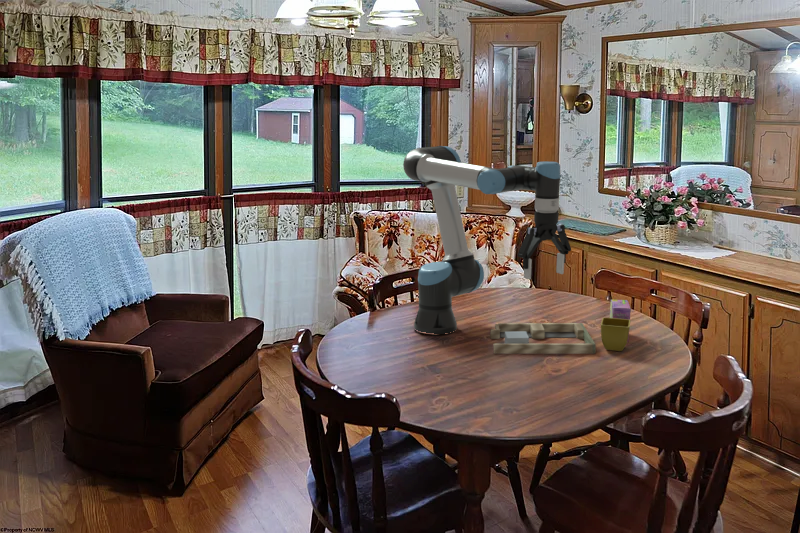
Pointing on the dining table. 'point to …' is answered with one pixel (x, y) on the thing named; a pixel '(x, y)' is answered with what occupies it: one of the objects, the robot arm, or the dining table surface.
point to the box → (620, 310)
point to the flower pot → (614, 333)
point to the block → (516, 337)
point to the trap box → (540, 333)
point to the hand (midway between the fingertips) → (543, 275)
